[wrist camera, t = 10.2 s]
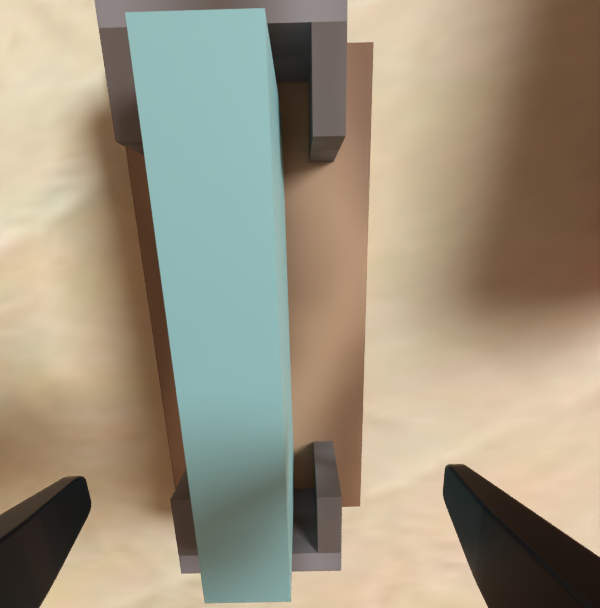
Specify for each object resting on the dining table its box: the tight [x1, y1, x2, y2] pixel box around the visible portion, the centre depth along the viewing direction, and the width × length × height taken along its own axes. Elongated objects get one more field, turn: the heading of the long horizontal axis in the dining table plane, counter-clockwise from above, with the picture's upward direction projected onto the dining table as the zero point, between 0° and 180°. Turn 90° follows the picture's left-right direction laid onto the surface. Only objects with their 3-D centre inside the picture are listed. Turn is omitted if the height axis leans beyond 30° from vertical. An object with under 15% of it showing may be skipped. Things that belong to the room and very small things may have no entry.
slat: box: [125, 8, 294, 603], centre depth 13 cm, size 4×20×7 cm, turn 1°
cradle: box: [95, 0, 373, 574], centre depth 15 cm, size 12×26×5 cm, turn 1°
